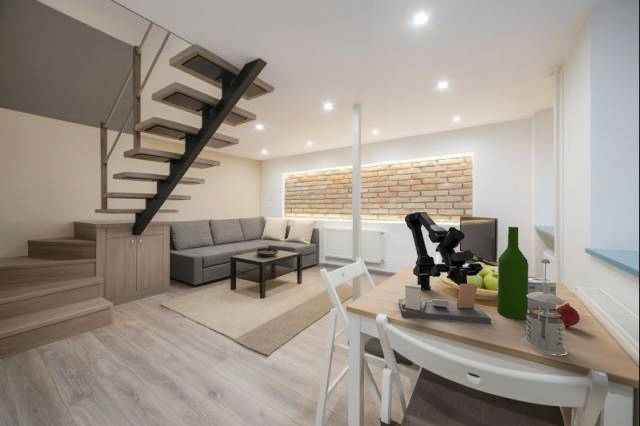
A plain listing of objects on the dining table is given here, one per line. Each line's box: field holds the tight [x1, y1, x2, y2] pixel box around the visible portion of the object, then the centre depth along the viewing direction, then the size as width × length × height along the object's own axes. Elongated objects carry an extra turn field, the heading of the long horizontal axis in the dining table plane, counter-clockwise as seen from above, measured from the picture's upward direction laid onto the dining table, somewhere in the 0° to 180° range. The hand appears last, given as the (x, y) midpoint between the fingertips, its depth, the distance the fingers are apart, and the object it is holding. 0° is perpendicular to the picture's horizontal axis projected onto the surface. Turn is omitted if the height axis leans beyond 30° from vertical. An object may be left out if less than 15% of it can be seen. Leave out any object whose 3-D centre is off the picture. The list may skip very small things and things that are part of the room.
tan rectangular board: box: [456, 283, 478, 309], centre depth 92 cm, size 1×6×10 cm, turn 95°
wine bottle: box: [496, 226, 529, 321], centre depth 92 cm, size 9×9×32 cm
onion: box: [555, 302, 581, 328], centre depth 83 cm, size 6×6×8 cm
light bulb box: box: [528, 277, 557, 310], centre depth 100 cm, size 11×7×11 cm, turn 84°
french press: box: [521, 258, 567, 355], centre depth 70 cm, size 10×12×25 cm
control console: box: [397, 298, 492, 325], centre depth 93 cm, size 12×29×4 cm, turn 78°
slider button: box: [404, 282, 422, 310], centre depth 93 cm, size 3×5×8 cm, turn 62°
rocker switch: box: [431, 298, 450, 306], centre depth 94 cm, size 4×5×2 cm
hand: (466, 290), depth 92 cm, fingers closed, pressing on tan rectangular board
